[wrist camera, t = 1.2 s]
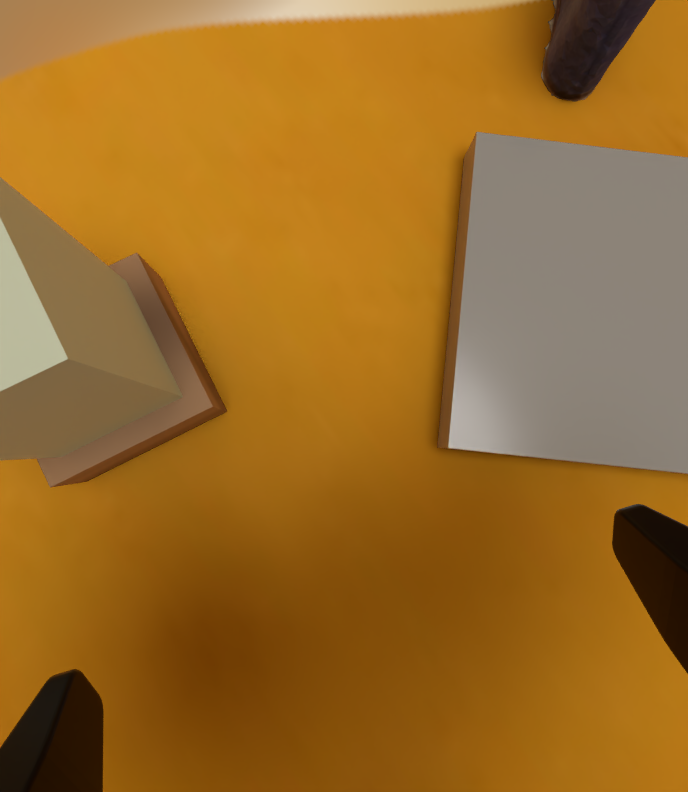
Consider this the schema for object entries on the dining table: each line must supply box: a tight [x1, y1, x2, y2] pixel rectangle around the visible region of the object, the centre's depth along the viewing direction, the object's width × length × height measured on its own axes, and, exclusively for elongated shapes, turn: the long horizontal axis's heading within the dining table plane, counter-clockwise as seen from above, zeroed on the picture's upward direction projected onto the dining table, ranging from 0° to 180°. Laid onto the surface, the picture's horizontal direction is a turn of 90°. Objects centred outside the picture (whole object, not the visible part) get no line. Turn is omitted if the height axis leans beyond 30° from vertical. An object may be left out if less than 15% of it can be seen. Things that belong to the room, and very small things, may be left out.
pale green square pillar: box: [0, 178, 183, 460], centre depth 15 cm, size 4×4×9 cm
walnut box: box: [37, 253, 227, 487], centre depth 21 cm, size 6×6×3 cm
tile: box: [437, 132, 688, 474], centre depth 23 cm, size 12×12×2 cm
